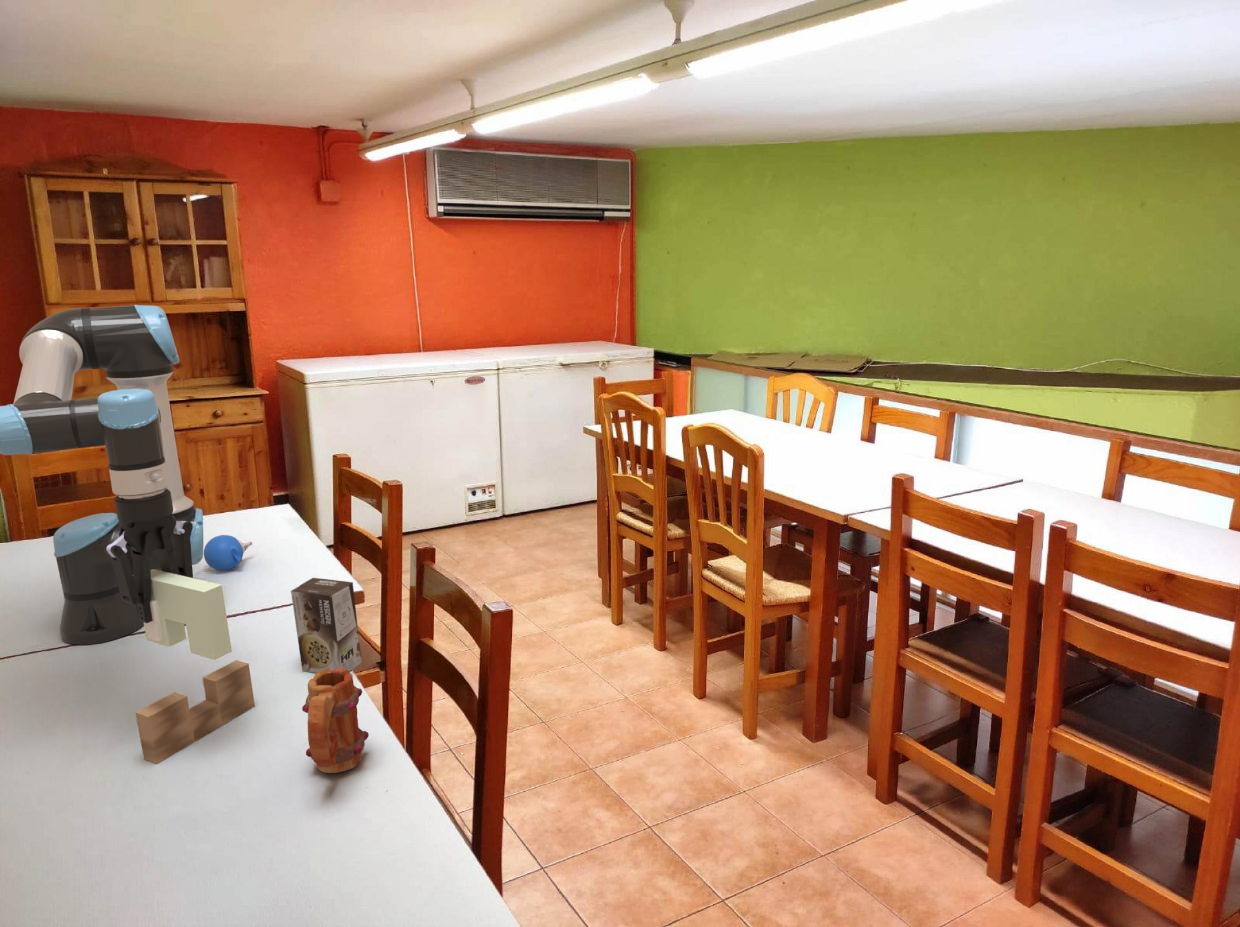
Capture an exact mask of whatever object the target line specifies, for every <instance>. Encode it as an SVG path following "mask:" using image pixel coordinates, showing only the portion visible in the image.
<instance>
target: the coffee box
mask: <svg viewBox="0 0 1240 927" xmlns="http://www.w3.org/2000/svg"><path fill="white" fill-rule="evenodd" d="M354 590H355V589H354V581H353V582H351V581H346V580H335V579H328V578H327V579H326V578H317V577H312V578H309V579H308V580H306V581H304V582H303V583H302V584H300V585H298V586H297V587H295V588H294V589H291V590H290V594H291V600H292V606H293V607H292V608H293V614H294V620H295V621H294V622H295V628H296V630H295V631H296V636H297V642H298V643H297V644H298V648H299V649H298V651H299V657H300V664H301V670H302V672H308V673H314V674H316V673H318V672H321V671H323V670H326V669H328V668H329V669H330V670H331V671H332V670H334V669H335V668H341V669H346V670H348V671H349V672H350V673H351V671H352V670H353V669H355V668H357V666H359V665H361V663H362V656H361V655H362V653H361V646H360V635H359V627H358V626H359V625H358V618H357V608H356V600H355V591H354Z"/></svg>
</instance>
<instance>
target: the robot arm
mask: <svg viewBox="0 0 1240 927" xmlns="http://www.w3.org/2000/svg"><path fill="white" fill-rule="evenodd" d="M23 336H24V337H22V340H21V343H20V346H19V353H18V354H19V360H20V362H21V364H22V367H21V371H20V375H19V380H18V385H17V388H16V392H15V396H14V400H13V403H9V404H6V405H0V455H2V456H15V455H26V456H29V455H32V454H33V455H34V454H40V453H47V452H48V453H49V452H56V451H57V452H58V451H66V450H67V451H68V450H72V449H74V450H75V449H83V448H93V447H94V448H95V447H104V448H105V452H106V457H107V461H108V471H109V477H110V483H111V489H112V493H113V494H114V495H115V497H114V505H115V511H116V513H115V512H107V513H106V512H100V513H96V514H91V515H87V516H83V517H80V518H77V519H75V520H72V521H70V522H68V523H65V524H64V525H62V526H60V527H59V528H58V529H57V530H56V531H55V532H54V534H53V538H52V539H53V540H52V542H53V548H54V553H53V556H54V557H55V560H56V563H57V564H56V565H57V568H58V573H59V579H60V583H61V584H60V585H61V589H62V594H63V599H64V602H63V608H62V612H61V617H60V618H61V619H60V624H59V632H60V637H61V640H62V641H63V642H64V643H66V644H71V645H77V646H78V645H93V644H102V643H104V642H110V641H114V640H117V639H120V638H122V637H123V638H124V637H126V636H128V635H130V634H133V633H134V632H136V631H138V630H139V629H141V628H142V627H144V623H145V626H146V631H147V637H148V639H152V640H155V641H161V640H163V635H162V629H161V624H160V618H159V612H158V606H157V601H154V600H151V570H152V569H155V570H160V571H164V572H168V573H173V574H177V575H181V576H186V577H190V578H194V571H193V566H194V565H197V564H199V563H201V561H202V560H203V559H204V558H203V557H204V514H203V513H204V512H203V510H202V508H198V507H197V508H195V506H194V505H195V504H194V501H193V500H192V499H191V498H189V497H187V496H185V493H184V488H183V487H184V486H183V480H182V472H181V469H180V462H179V456H178V449H177V448H178V447H177V442H176V436H175V430H174V422H173V417H172V411H171V404H170V398H169V391H168V386H167V381H168V380H169V379H170V378H171V376H172V375H173V374H174V369H173V368H174V367H173V365H176V364H179V363H180V357H179V355H178V351H177V350H178V349H177V347H176V343H175V341H174V337H173V333H172V330H171V327H170V324H169V320H168V317H167V315H166V311H165V310H164V309H163V308H161V307H160V306H158V305H141V304H134V305H118V306H104V307H83V308H82V307H75V308H69V309H64V310H62V311H59V312H56V313H54V314H50V315H49V316H47V317H46V318H43V319H42V320H40V321H39V322H38V323H36V324H34V326H32V327H31V328H30V329H29V330H28V331H27V332H26V334H25V335H23ZM102 369H103V370H104V371H105V377H106V379H107V380H108V381H109V382H111V383H112V384H114V385H115V386H116V390H110V391H107V392H104V393H101V394H100V395H99V396H98V397H92V398H83V399H82V398H80V399H72V398H73V390H74V383H75V382H74V381H75V374H76V373H77V372H78V371H83V370H84V371H85V370H102Z"/></svg>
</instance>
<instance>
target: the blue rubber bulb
mask: <svg viewBox="0 0 1240 927" xmlns="http://www.w3.org/2000/svg"><path fill="white" fill-rule="evenodd" d="M252 545H253V542H252V541H248V542H242V541H241V540H239V539H237V538H236V537H234V536H232V535H228V534H221V535H217V536H214V537H213V538H211V539H210V540H208V541H207V542H206V545H205V546H204V547H203V557H204V558H203V559H204V560H205V562H206V564H207V565H208V566H209V567H210V568H212V569H213V570H216V571H221V572H222V571H229V570H232V569H235V567H236V566H238V565H239V564H240V563H242V561H243V556H244V554H245V552H246V551H247V550H248V548H249V547H250V546H252Z"/></svg>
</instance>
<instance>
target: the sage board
mask: <svg viewBox="0 0 1240 927" xmlns="http://www.w3.org/2000/svg"><path fill="white" fill-rule="evenodd" d="M224 596H225V595H224V590H223V585H222V584H219V583H216V582H210V581H206V580H203V579H199V578H194V577H193V578H190V577H186V576H181V575H177V574H173V573H168V572H164V571H160V570H155V569H152V570H151V600H154V601H157V606H158V612H159V618H160V624H161V629H162V635H163V640H161V641H155V640H152V639H148V637H147V631H146V626H145V623H144V625H143V627H144V632H145V638H146V641H147V642H152V643H155V644H158V645H161V646H165V647H169V648H170V647H172V646H174V645H177V644H178V643H181V642H183V641H186V640H188V644H189V646H188V647H189V651H190V654H193V655H196V656H199V657H203V658H206V659H209V660H213V661H217V660H219V659H220V658H223V657H225V656H226V655H228V654H230V653H232V652H233V650H232V643H231V637H230V636H231V635H230V630H229V624H228V617H227V612H226V611H227V610H226V604H225V597H224ZM186 632H187V634H186Z"/></svg>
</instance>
